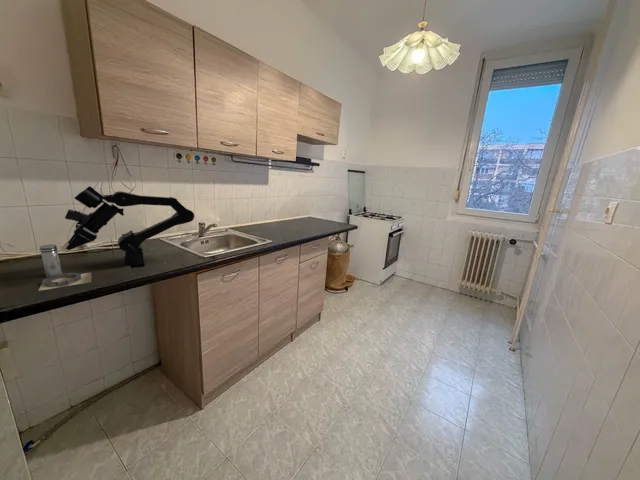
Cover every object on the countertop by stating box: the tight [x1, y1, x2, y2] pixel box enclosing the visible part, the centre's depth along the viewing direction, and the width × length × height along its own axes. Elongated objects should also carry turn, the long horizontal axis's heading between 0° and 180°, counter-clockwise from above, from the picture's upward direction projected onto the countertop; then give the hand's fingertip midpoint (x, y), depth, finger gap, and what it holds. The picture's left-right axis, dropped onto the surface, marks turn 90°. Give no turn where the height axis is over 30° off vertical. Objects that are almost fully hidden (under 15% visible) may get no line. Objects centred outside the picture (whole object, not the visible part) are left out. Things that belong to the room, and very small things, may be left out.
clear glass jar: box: [39, 243, 63, 278], centre depth 94 cm, size 4×4×12 cm
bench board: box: [38, 272, 92, 292], centre depth 91 cm, size 13×11×1 cm
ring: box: [42, 272, 82, 287], centre depth 91 cm, size 9×9×1 cm
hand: (68, 246), depth 96 cm, fingers open, 9 cm apart
